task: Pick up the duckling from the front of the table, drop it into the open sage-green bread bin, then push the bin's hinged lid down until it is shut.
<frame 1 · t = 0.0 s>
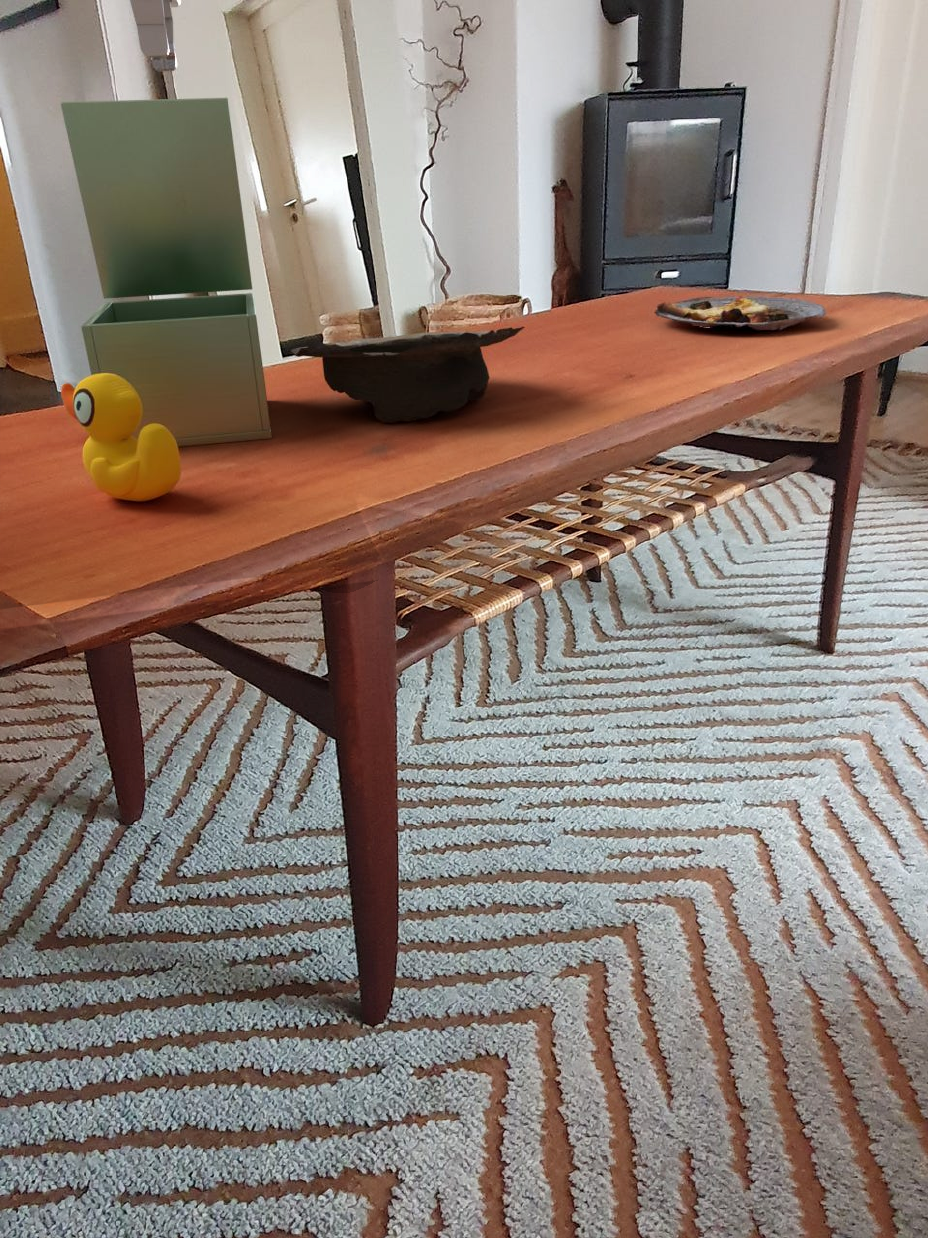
hand: (161, 64, 67), 31 cm above the table, tool pointing down, fingers open, 8 cm apart
food plate: (736, 324, 144), on the table
duckling: (133, 500, 77), on the table
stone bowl: (407, 405, 104), on the table
breadbin lid: (164, 197, 97), point 22 cm above the table, hinge at 80.0°
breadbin: (194, 424, 99), on the table
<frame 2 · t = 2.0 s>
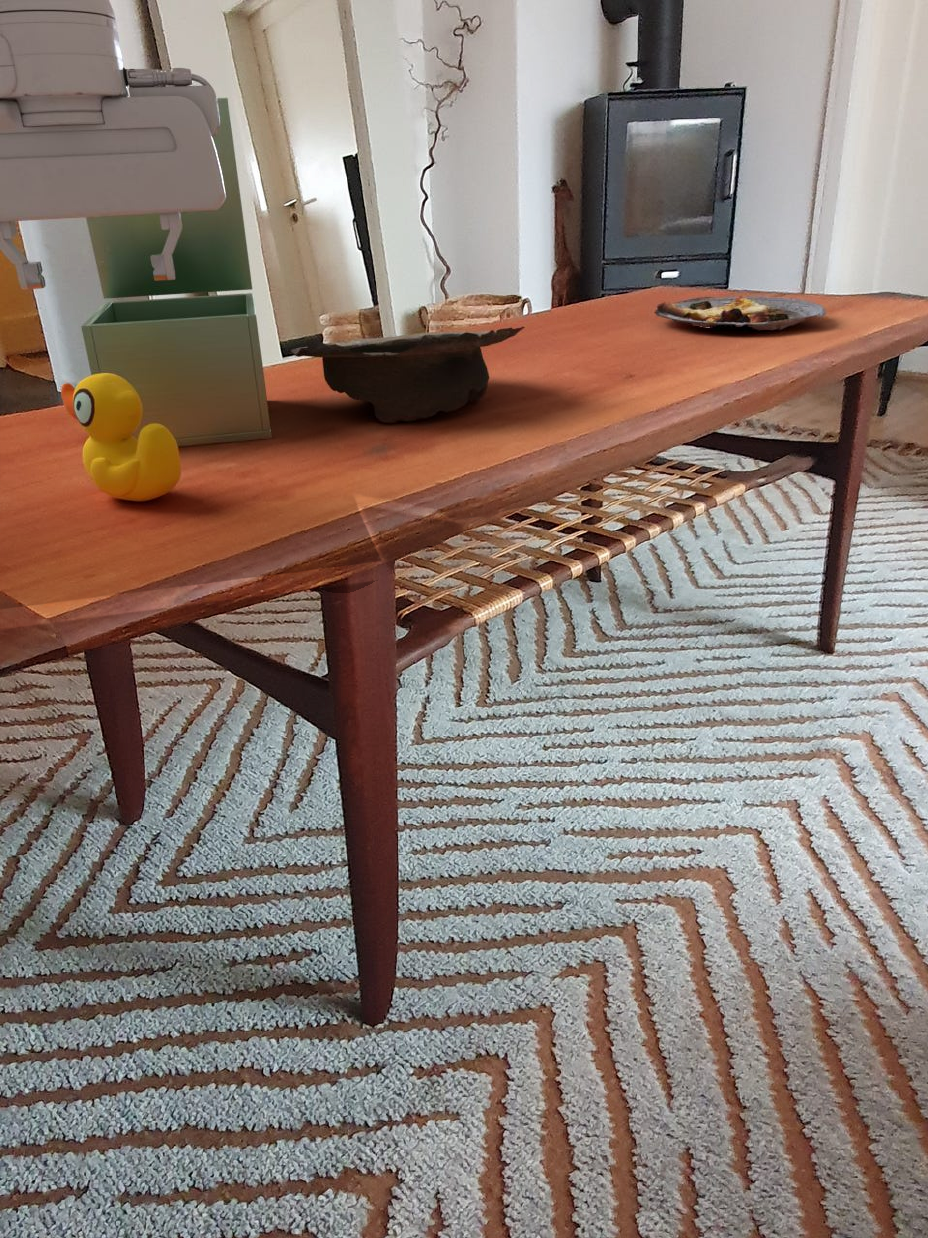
hand: (100, 284, 70), 17 cm above the table, tool pointing down, fingers open, 8 cm apart
nothing on the table moved.
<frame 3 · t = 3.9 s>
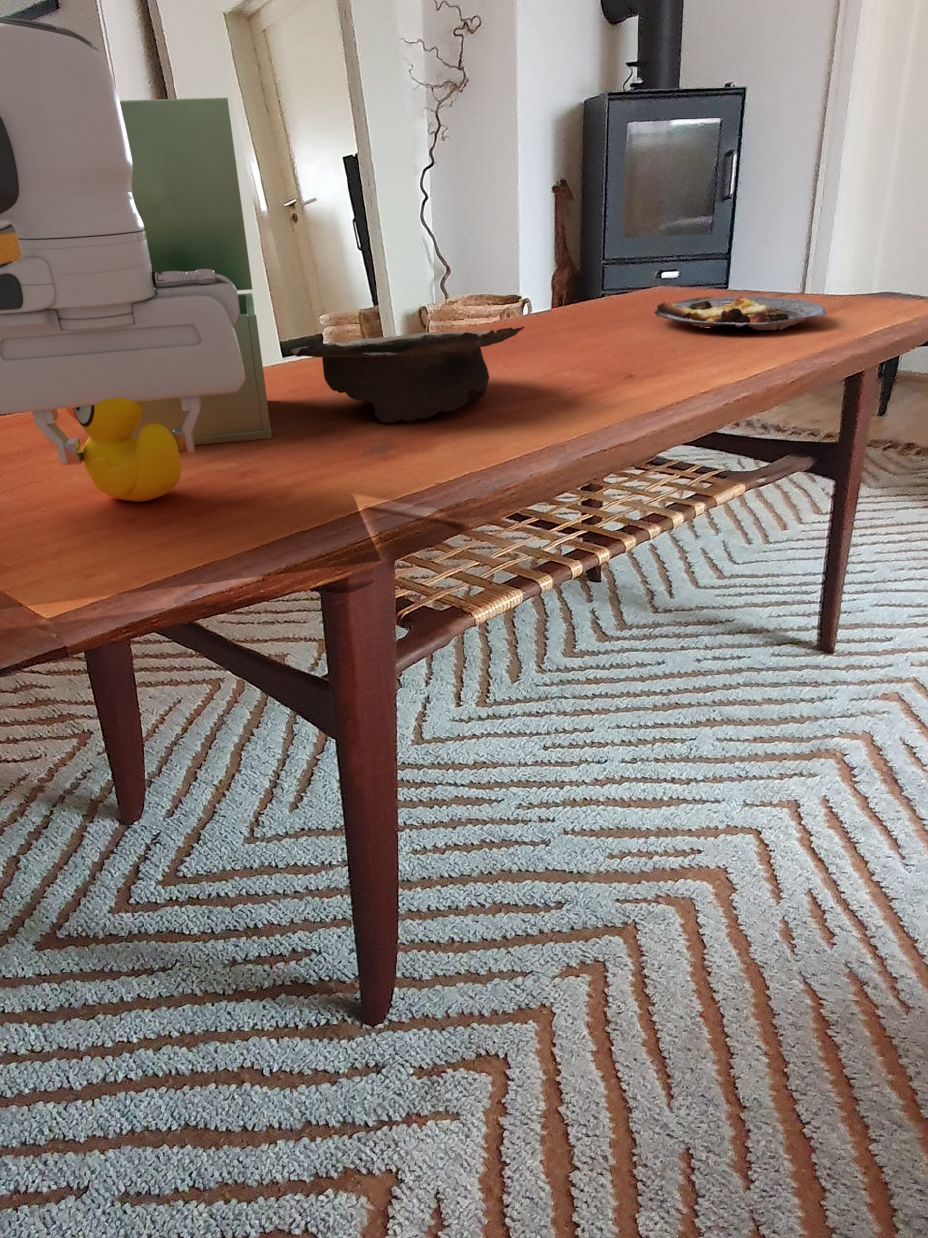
hand: (129, 457, 76), 3 cm above the table, tool pointing down, fingers closed on duckling, 7 cm apart
duckling: (133, 500, 77), on the table, touching gripper
everything else where it was.
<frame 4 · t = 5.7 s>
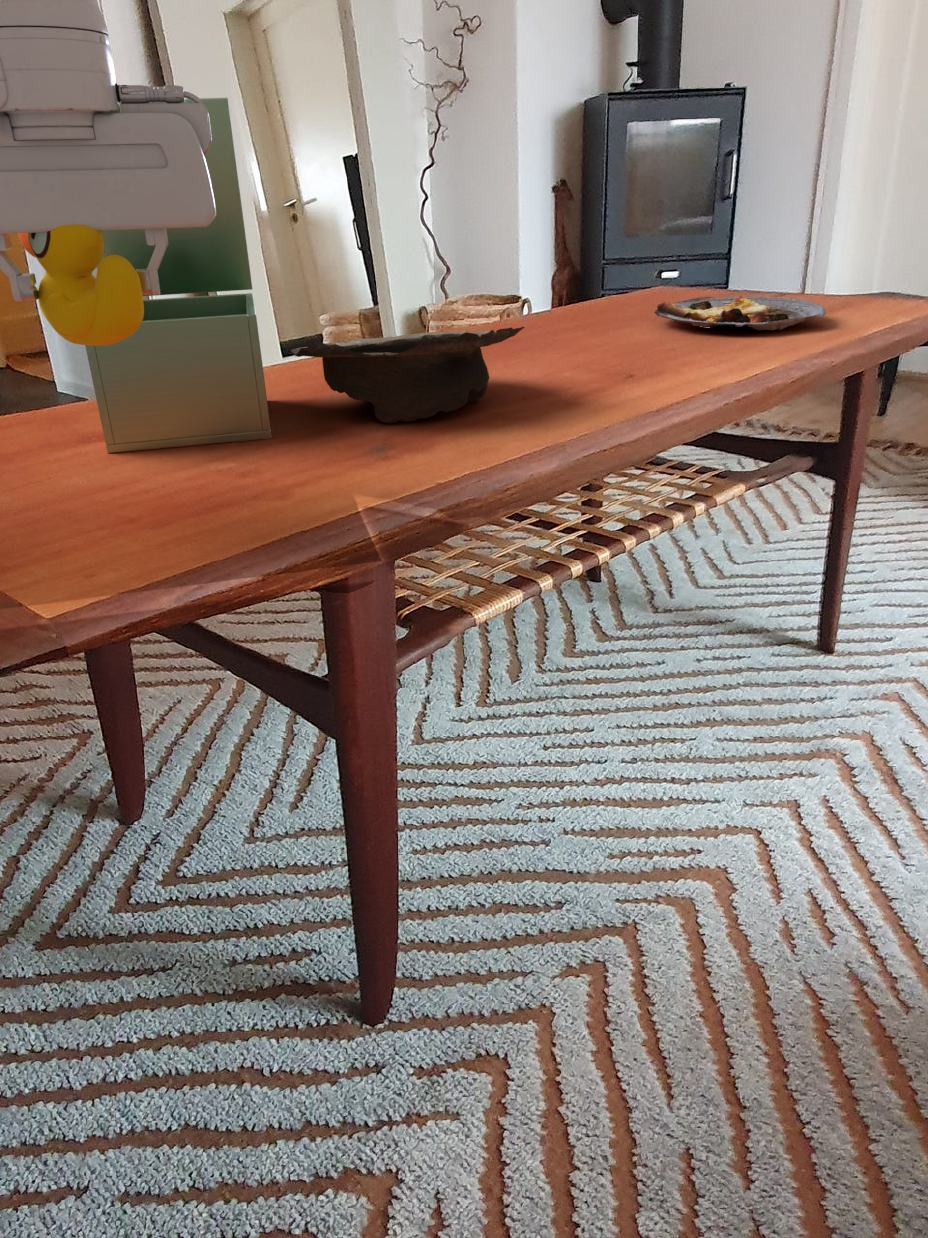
hand: (88, 297, 70), 16 cm above the table, tool pointing down, fingers closed on duckling, 7 cm apart
duckling: (93, 347, 71), point 12 cm above the table, touching gripper
everything else where it was.
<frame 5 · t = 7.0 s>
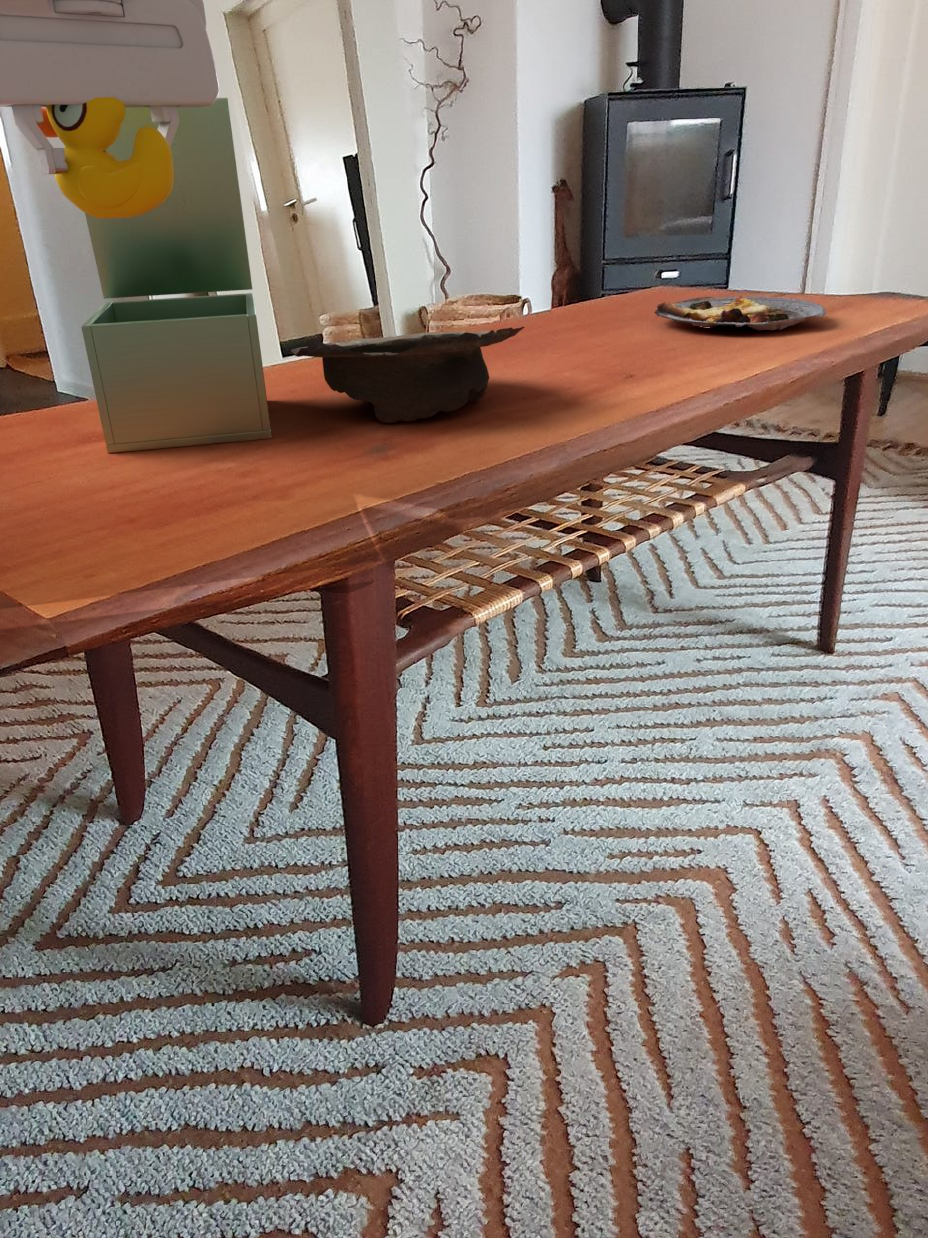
hand: (109, 172, 75), 24 cm above the table, tool pointing down, fingers closed on duckling, 7 cm apart
duckling: (114, 220, 76), point 21 cm above the table, touching gripper
everything else where it was.
when the fingers open (12 cm above the table, at t = 11.9 s): duckling drops 8 cm, resting on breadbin.
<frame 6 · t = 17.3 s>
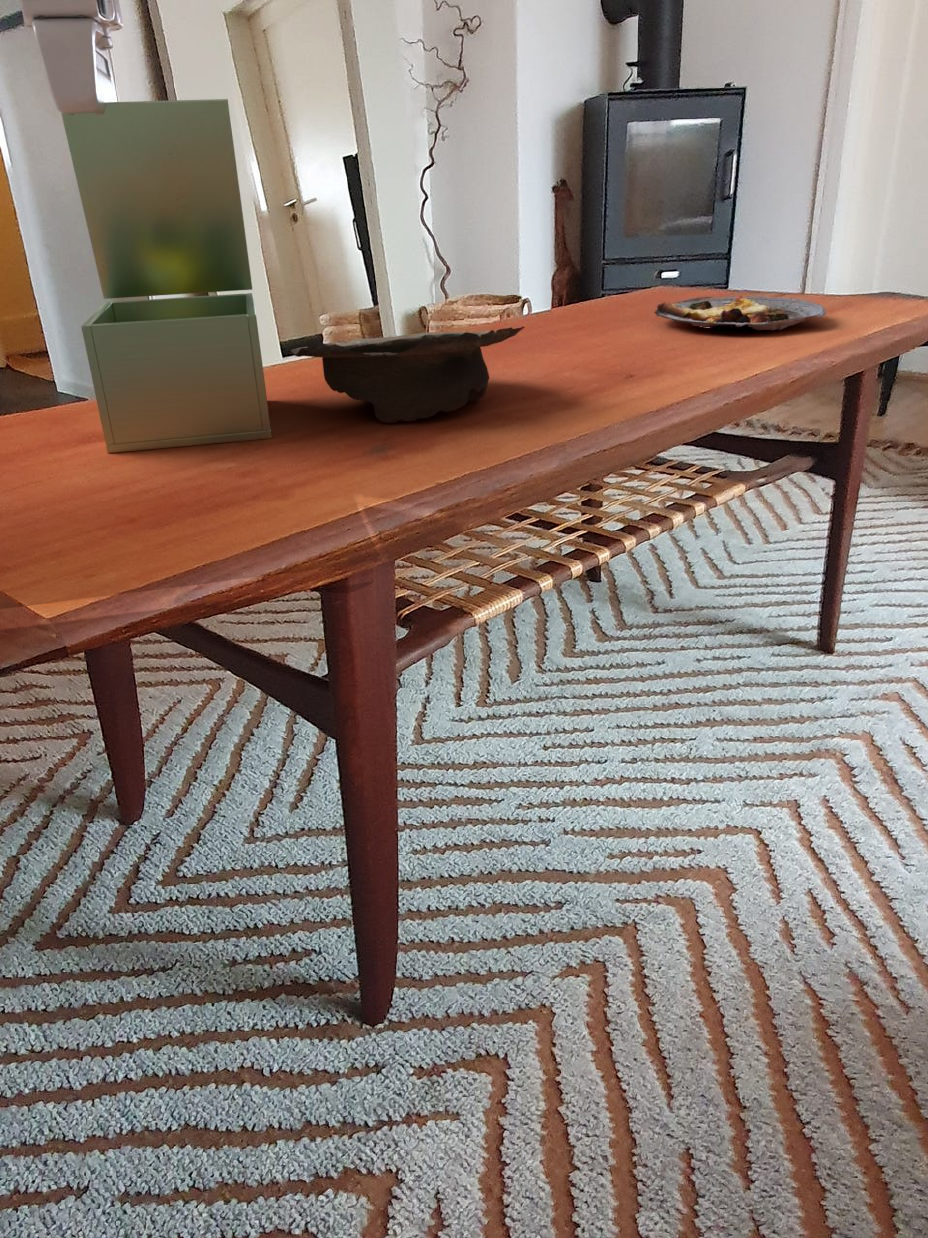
hand: (101, 169, 94), 25 cm above the table, tool pointing down, fingers closed
duckling: (190, 421, 97), point 1 cm above the table, touching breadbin
breadbin lid: (163, 198, 97), point 22 cm above the table, hinge at 77.0°, touching gripper
everything else where it was.
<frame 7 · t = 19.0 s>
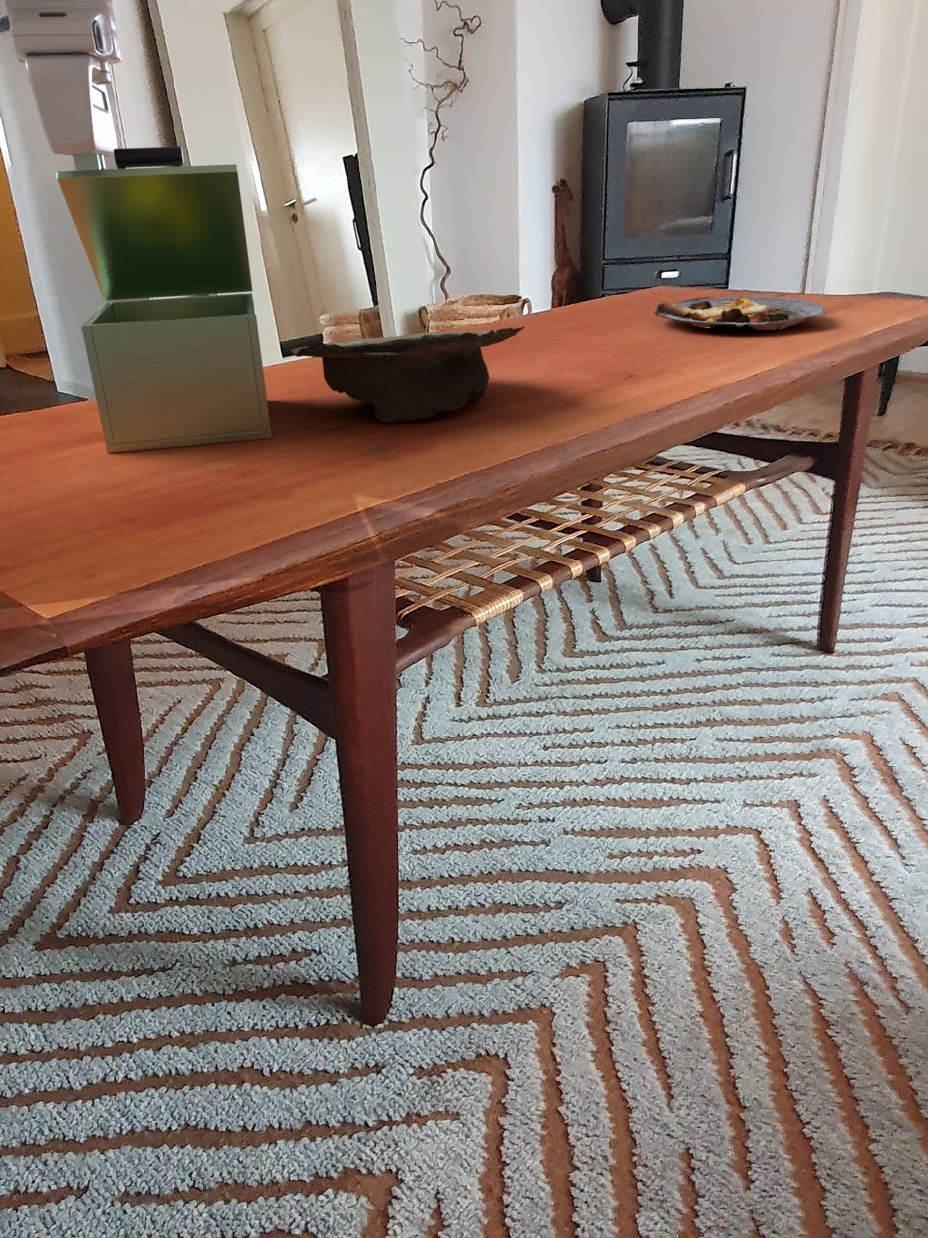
hand: (98, 209, 89), 21 cm above the table, tool pointing down, fingers closed
breadbin lid: (163, 221, 93), point 20 cm above the table, hinge at 40.3°, touching gripper
everything else where it was.
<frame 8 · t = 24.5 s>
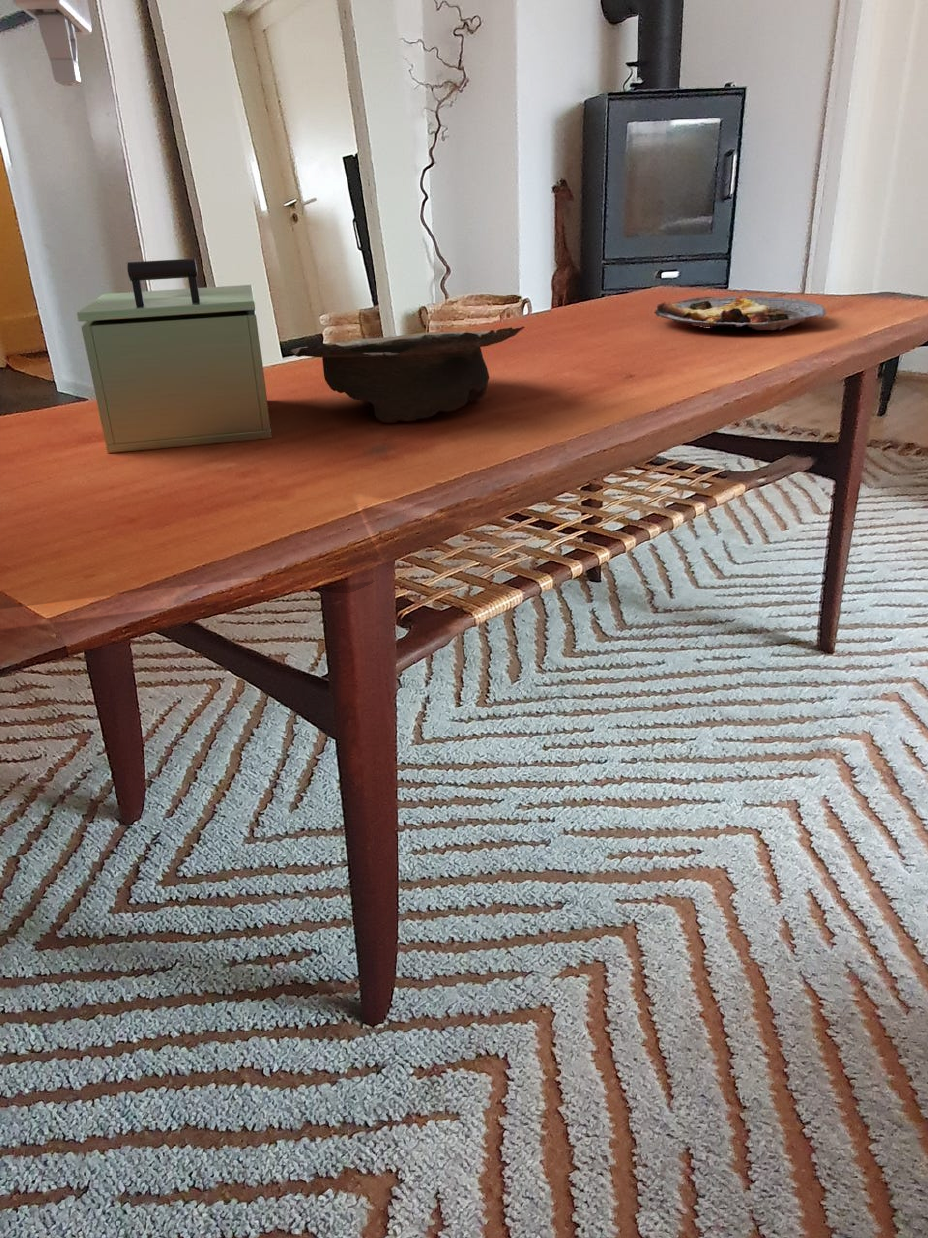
hand: (68, 84, 80), 31 cm above the table, tool pointing down, fingers closed
breadbin lid: (170, 281, 92), point 14 cm above the table, hinge at 1.4°
everything else where it was.
at the end: duckling inside the target area in the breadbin (1.2 cm from its centre), point 0.6 cm above the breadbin's base; breadbin lid at +1° (first picture: +80°) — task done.
